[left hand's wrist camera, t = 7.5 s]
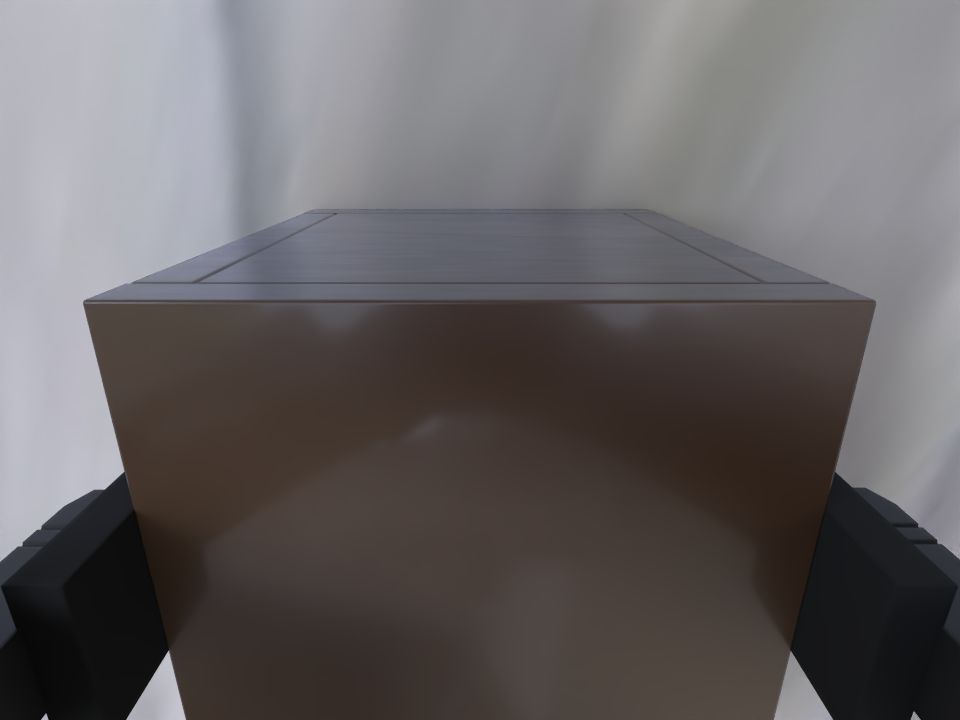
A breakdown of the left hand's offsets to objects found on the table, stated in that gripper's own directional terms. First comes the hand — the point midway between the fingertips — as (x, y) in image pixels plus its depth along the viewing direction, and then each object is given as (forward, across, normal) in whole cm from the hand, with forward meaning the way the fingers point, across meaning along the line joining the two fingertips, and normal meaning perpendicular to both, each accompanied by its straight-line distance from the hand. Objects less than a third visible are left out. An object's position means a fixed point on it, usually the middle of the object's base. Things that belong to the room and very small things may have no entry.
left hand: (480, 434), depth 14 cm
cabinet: (+6, 0, +5) cm, 8 cm away
